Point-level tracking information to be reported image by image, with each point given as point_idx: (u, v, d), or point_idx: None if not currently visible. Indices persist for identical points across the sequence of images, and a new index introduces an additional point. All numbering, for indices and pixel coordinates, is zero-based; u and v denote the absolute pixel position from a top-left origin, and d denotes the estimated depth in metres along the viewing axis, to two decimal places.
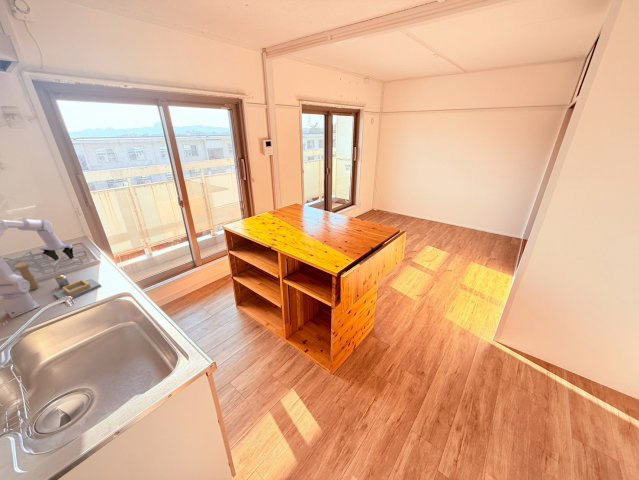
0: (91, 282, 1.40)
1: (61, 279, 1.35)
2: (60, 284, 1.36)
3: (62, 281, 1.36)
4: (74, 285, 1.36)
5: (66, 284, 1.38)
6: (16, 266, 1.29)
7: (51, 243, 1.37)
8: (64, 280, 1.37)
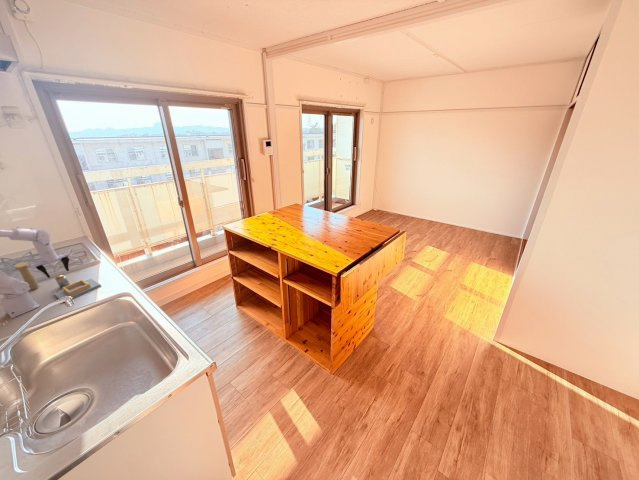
0: (91, 282, 1.40)
1: (61, 279, 1.35)
2: (60, 284, 1.36)
3: (62, 281, 1.36)
4: (74, 285, 1.36)
5: (66, 284, 1.38)
6: (16, 266, 1.29)
7: (52, 253, 1.30)
8: (64, 280, 1.37)
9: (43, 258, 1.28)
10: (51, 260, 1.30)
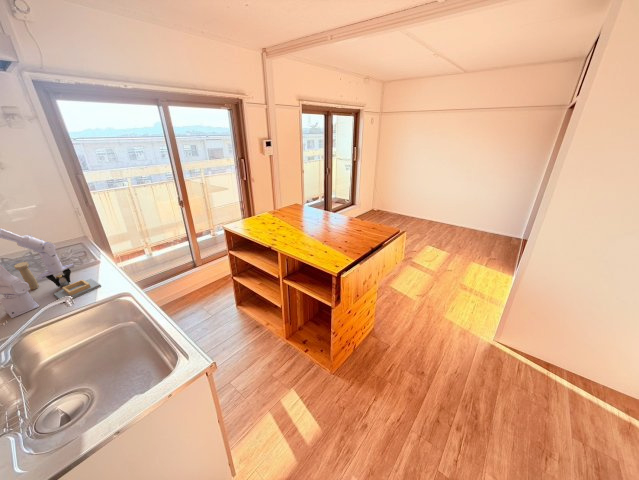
0: (91, 282, 1.40)
1: (61, 279, 1.35)
2: (60, 284, 1.36)
3: (62, 281, 1.36)
4: (74, 285, 1.36)
5: (66, 284, 1.38)
6: (16, 266, 1.29)
7: (58, 264, 1.33)
8: (64, 280, 1.37)
9: (49, 269, 1.31)
10: (57, 271, 1.33)
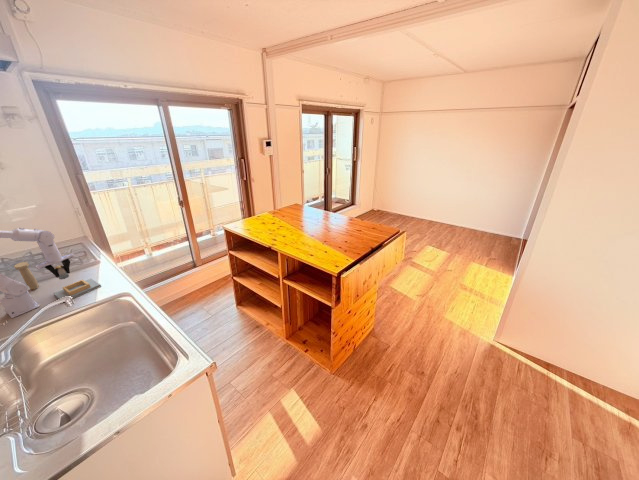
0: (91, 282, 1.40)
1: (60, 270, 1.31)
2: (59, 275, 1.32)
3: (61, 272, 1.32)
4: (74, 285, 1.36)
5: (65, 275, 1.33)
6: (16, 266, 1.29)
7: (57, 254, 1.28)
8: (63, 271, 1.32)
9: (48, 259, 1.27)
10: (56, 261, 1.28)
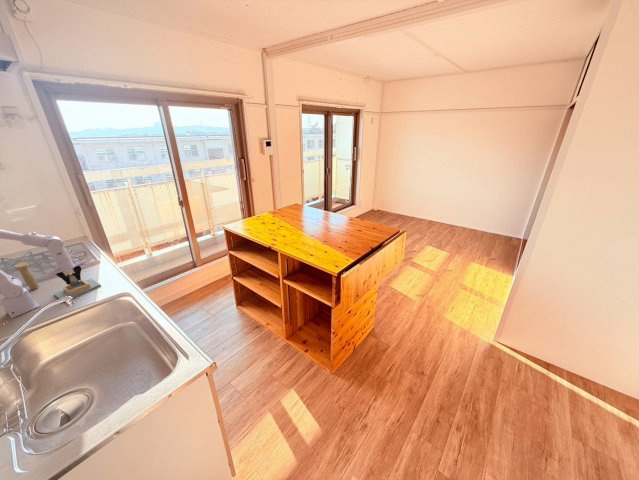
0: (91, 282, 1.40)
1: (71, 277, 1.30)
2: (70, 282, 1.30)
3: (72, 279, 1.30)
4: None
5: (76, 282, 1.32)
6: (16, 266, 1.29)
7: (68, 261, 1.27)
8: (74, 278, 1.31)
9: (59, 266, 1.25)
10: (67, 268, 1.27)
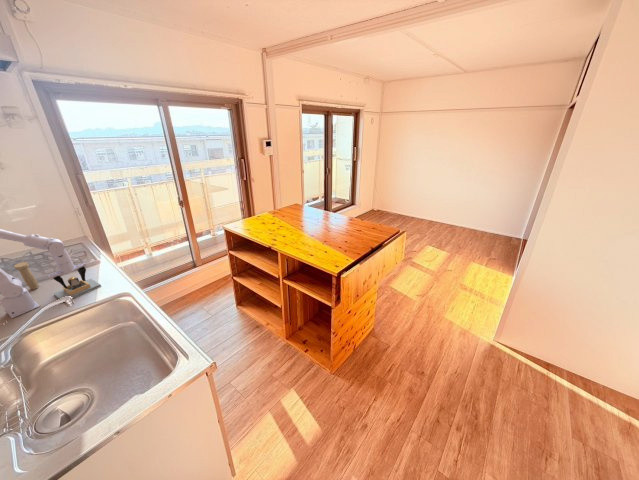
0: (91, 282, 1.40)
1: (74, 281, 1.31)
2: (73, 287, 1.32)
3: (75, 283, 1.32)
4: None
5: (79, 286, 1.33)
6: (16, 266, 1.29)
7: (69, 263, 1.27)
8: (77, 282, 1.32)
9: (60, 269, 1.26)
10: (68, 271, 1.27)
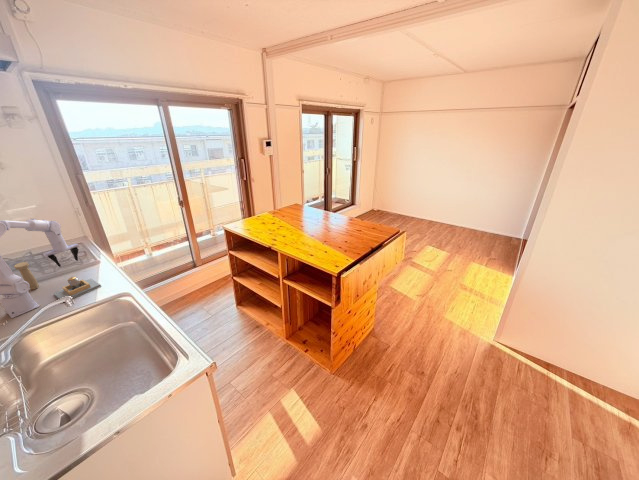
0: (91, 282, 1.40)
1: (74, 281, 1.31)
2: (73, 286, 1.32)
3: (75, 283, 1.32)
4: None
5: (79, 286, 1.33)
6: (16, 266, 1.29)
7: (63, 243, 1.37)
8: (77, 282, 1.32)
9: (54, 248, 1.36)
10: (62, 250, 1.37)
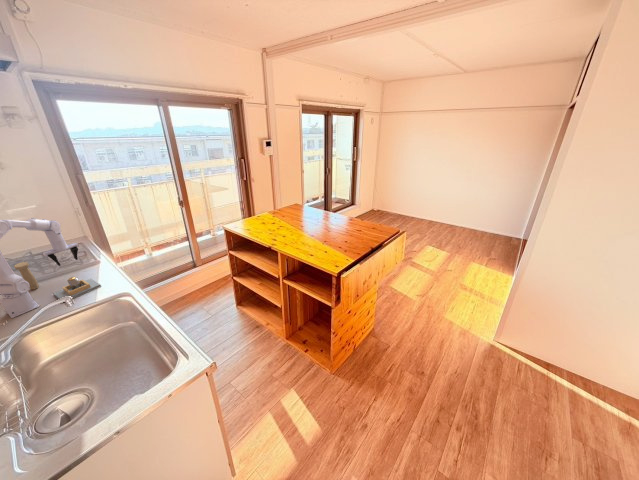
0: (91, 282, 1.40)
1: (73, 281, 1.31)
2: (72, 287, 1.32)
3: (74, 283, 1.32)
4: None
5: (78, 286, 1.33)
6: (16, 266, 1.29)
7: (62, 242, 1.38)
8: (76, 282, 1.32)
9: (54, 247, 1.37)
10: (61, 249, 1.38)
